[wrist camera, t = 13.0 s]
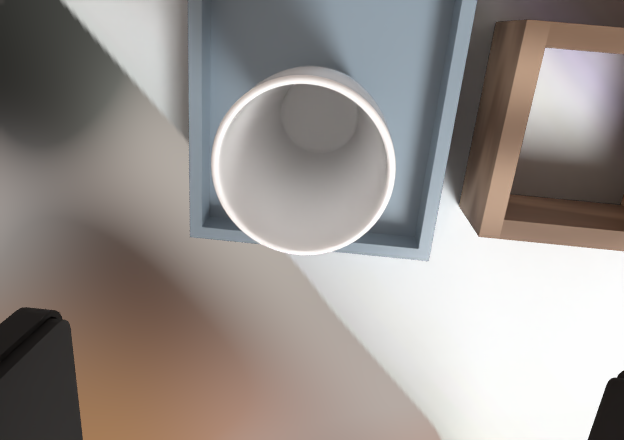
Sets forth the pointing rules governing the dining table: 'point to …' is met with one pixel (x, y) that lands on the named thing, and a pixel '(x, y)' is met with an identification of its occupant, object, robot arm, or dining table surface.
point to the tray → (353, 62)
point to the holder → (509, 136)
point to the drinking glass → (304, 161)
